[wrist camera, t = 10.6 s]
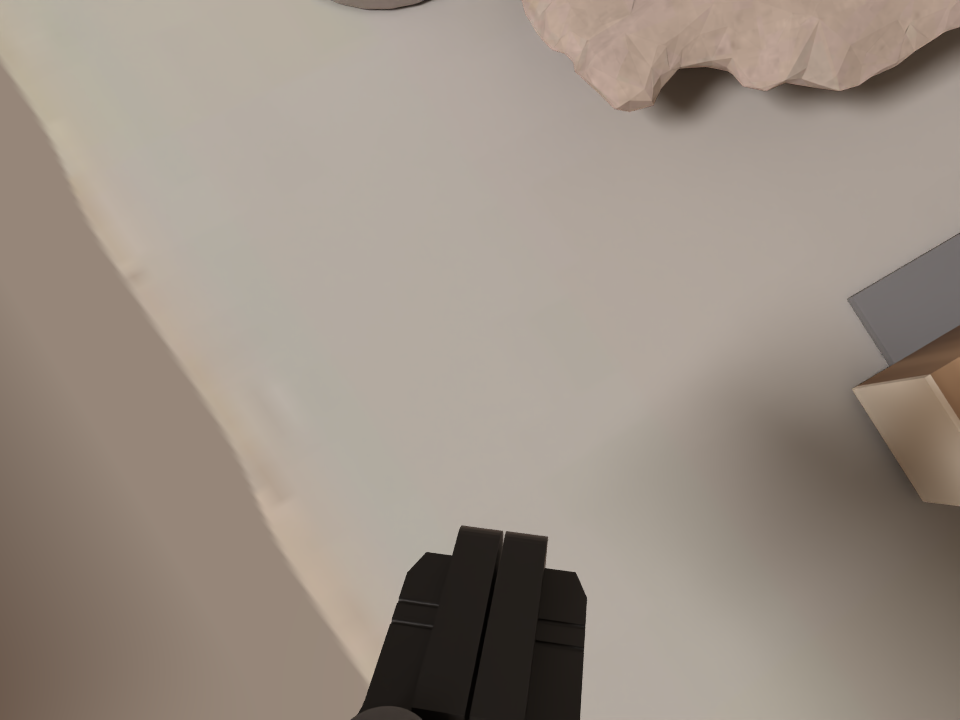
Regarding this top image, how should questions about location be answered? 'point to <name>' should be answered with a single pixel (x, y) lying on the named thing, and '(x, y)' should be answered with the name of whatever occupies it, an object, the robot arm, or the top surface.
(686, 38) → the stone
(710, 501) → the top surface
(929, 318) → the mat
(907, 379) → the block
